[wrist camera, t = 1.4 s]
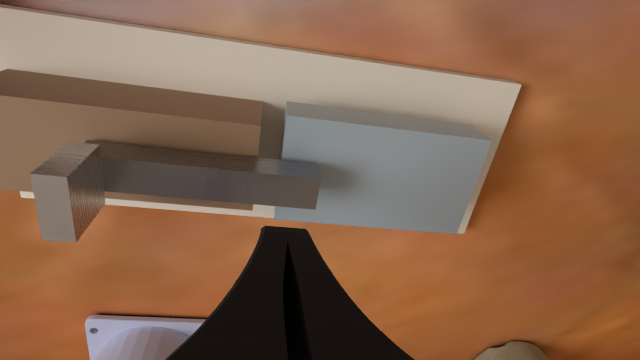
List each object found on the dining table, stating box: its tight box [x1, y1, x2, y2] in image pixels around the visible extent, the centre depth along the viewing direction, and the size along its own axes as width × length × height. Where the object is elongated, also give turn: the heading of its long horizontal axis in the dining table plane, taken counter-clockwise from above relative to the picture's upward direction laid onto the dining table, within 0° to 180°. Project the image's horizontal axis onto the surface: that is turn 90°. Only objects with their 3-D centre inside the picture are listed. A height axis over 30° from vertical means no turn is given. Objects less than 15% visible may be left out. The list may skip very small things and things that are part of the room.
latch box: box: [0, 4, 522, 234], centre depth 19 cm, size 9×24×4 cm, turn 81°
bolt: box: [30, 140, 321, 243], centre depth 15 cm, size 2×9×4 cm, turn 81°
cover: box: [274, 101, 492, 234], centre depth 19 cm, size 5×9×2 cm, turn 81°
